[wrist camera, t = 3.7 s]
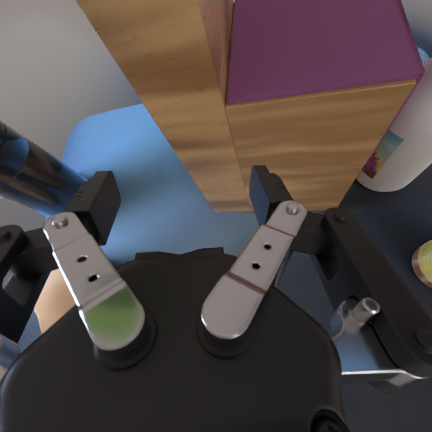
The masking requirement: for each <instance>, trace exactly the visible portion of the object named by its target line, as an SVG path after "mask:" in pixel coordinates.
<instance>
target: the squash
mask: <svg viewBox="0 0 432 432" xmlns="http://www.w3.org/2000/svg"><path fill="white" fill-rule="evenodd" d="M75 304H76V302H75V300H74V297H73V295H72V293H71V291H70V289H69V287H68V285H67V283H66V281H65V279H64V276H63V274H62V272H61V270H60V269H56V270H53V271H51V273H50V275H49V277H48V279H47V281H46V283H45V286H44V288H43V290H42V292H41V294H40V296H39V298H38V301H37V303H36V305H35V307H34V311H35V313H36V315H37V316H38V320H39V325H40V329H41V333H42V334H43V333H44V332H45V331H46V330H47V329H48V328H50V327H51V326H52V325H53V324H54V323H55V322H56V321H57V320H58V319H60V318H61V317H62V316H63V315H64V314H65V313H66V312H67V311H69V310H70V309H71V308H72V307H73V306H74V305H75Z"/></svg>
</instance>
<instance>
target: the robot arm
mask: <svg viewBox="0 0 432 432" xmlns="http://www.w3.org/2000/svg"><path fill="white" fill-rule="evenodd" d="M249 196H250V200H251V203H252V206H253V209H254V211H255V214H256V217H257V220H258V223H259V226H260V227H259V228H258V230H257V231H256V232H255V234H254V235H253V237H252V238H251V240H250V241H249V243H248V244H247V245H246V247H245V248H244V250H243V251H242V253H241V254H240V256H239V257H235V256H233V255H229V254H224V251H223V247H218V248H203V249H199V250H195V251H192V252H188V253H184V254H172V253H165V252H144V253H136V256H135V260H133V261H130V262H127V263H125V264H123V265H121V266H119V267H118V268H116V269H115V268H114V267H113V265H112V264H111V262H110V261H109V259H108V258H107V257H106V255H105V254H104V252H103V251H102V249H101V248H100V245H106V242H107V239H108V237H109V234H110V231H111V228H112V226H113V223H114V220H115V217H116V215H117V212H118V209H119V206H120V203H121V196H120V192H119V189H118V186H117V183H116V180H115V177H114V175H113V173H112V171H97V172H96V173H95V174H94V176H93V178H92V179H91V180H88V179H86V178H85V177H83V176H82V175H81V174H79V173H78V172H76V171H75V170H73V169H72V168H70V167H69V166H67V165H66V164H64V163H63V162H61V161H60V160H58V159H57V158H55V157H54V156H52V155H51V154H49V153H48V152H46V151H45V150H43V149H42V148H40V147H39V146H37V145H36V144H34V143H33V142H31V141H30V140H28V139H27V138H25V137H24V136H22V135H21V134H19V133H18V132H16V131H15V130H13V129H12V128H10V127H9V126H7V125H6V124H4V123H3V122H1V121H0V198H3V199H5V200H8V201H10V202H13V203H15V204H18V205H21V206H23V207H26V208H28V209H31V210H33V211H36V212H38V213H41V214H43V215H46V216H48V217H50V218H48V219H47V220H46V221H45V222H44V224H43V227H42V228H39V229H35V230H31V231H27V232H24V231H23V230H22V228H21V227H20V226H17V225H7V226H3V227H0V432H350V430H349V427H348V424H347V421H346V418H345V413H344V408H343V402H342V393H341V383H350V382H368V383H369V384H370V385H372V386H373V387H374V388H376V389H377V390H379V391H381V392H384V393H394V392H396V391H398V390H401V389H403V388H405V387H407V386H410V385H412V384H414V383H417V382H419V381H421V380H423V379H426V378H428V377H430V376H432V319H431V318H430V316H429V315H428V314H427V312H426V311H425V310H424V308H423V307H422V306H421V304H420V303H419V302H418V300H417V299H416V298H415V296H414V295H413V294H412V292H411V291H410V290H409V288H408V287H407V286H406V284H405V283H404V282H403V280H402V279H401V278H400V276H399V275H398V274H397V272H396V271H395V270H394V268H393V267H392V266H391V264H390V263H389V261H388V260H387V259H386V257H385V256H384V255H383V253H382V252H381V251H380V249H379V248H378V247H377V245H376V244H375V243H374V241H373V240H372V239H371V237H370V236H369V235H368V233H367V232H366V231H365V229H364V228H363V227H362V225H361V224H360V223H359V221H358V220H357V219H356V217H355V216H354V215H353V214H352V213H351V212H349V211H347V210H345V209H342V208H337V207H333V208H329V209H327V210H326V211H325V213H324V215H322V214H316V213H311V212H307V209H306V207H305V206H304V205H303V204H301V203H299V202H296V201H294V200H293V198H292V197H291V195H290V193H289V192H288V190H287V188H286V186H285V185H284V184H283V181H282V179H281V178H280V177H279V176H278V175H276V174H275V173H270V172H269V170H268V169H267V167H266V165H253V166H252V169H251V176H250V185H249ZM293 251H298V252H303V253H308V254H310V256H311V259H312V261H313V263H314V266H315V268H316V270H317V272H318V275H319V277H320V279H321V282H322V284H323V286H324V289H325V291H326V293H327V295H328V298H329V300H330V302H331V305H332V307H333V309H334V311H335V312H334V313H333V314H332V316H331V317H330V322H329V323H330V328H331V334H332V335H331V337H330V335H329V334H328V332H327V331H326V330H325V329H324V328H323V327H322V326H321V325H320V324H319V323H318V322H317V321H316V320H314V319H313V318H312V317H311V316H310V315H308V314H307V313H306V312H305V311H304V310H302V309H301V308H300V307H299V306H298V305H296V304H295V303H294V302H293V301H292V300H291V299H289V298H288V297H287V296H286V295H285V294H283V293H282V292H281V291H280V290H279V289H277V286H278V284H279V281H280V279H281V276H282V274H283V272H284V270H285V268H286V266H287V264H288V261H289V259H290V257H291V255H292V253H293ZM56 269H60V270H61V272H62V274H63V276H64V279H65V281H66V283H67V285H68V287H69V289H70V291H71V293H72V295H73V297H74V300H75V302H76V304H75V305H74V306H73V307H72V308H71V309H70V310H69V311H67V312H66V313H65V314H64V315H63V316H62V317H61V318H60V319H58V320H57V321H56V322H55V323H54V324H53V325H52V326H51V327H50V328H48V329H47V330H46V331H45V332H44V333H43V334H42V335H41V336H40V337H38V338H37V339H36V340H35V341H34V342H33V343H32V344H31V345H29V346H28V347H27V348H26V349H25V350H24V351H23V352H22V353H21V354H20V347H19V345H18V341H19V339H20V337H21V335H22V333H23V331H24V329H25V326H26V324H27V322H28V320H29V318H30V316H31V313H32V311H33V309H34V307H35V305H36V303H37V301H38V298H39V296H40V294H41V292H42V290H43V288H44V286H45V283H46V281H47V279H48V277H49V275H50V273H51V271H53V270H56ZM8 271H10V272H11V273H12V276H11V277H10V279H9V280H8V282H7V284H6V285H5V287H4V288H3V287H2V282H3V279H4V277H5V276H6V274H7V272H8Z"/></svg>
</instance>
